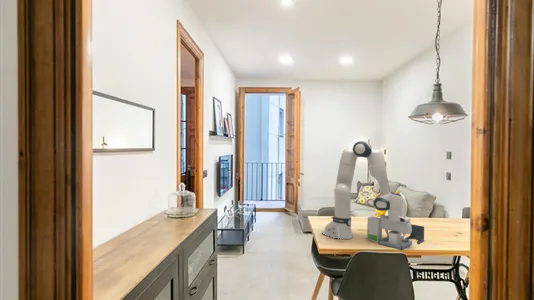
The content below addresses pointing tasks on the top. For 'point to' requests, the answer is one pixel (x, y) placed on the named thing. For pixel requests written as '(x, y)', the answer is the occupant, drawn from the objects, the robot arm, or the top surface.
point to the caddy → (395, 237)
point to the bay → (417, 233)
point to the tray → (401, 246)
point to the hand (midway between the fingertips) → (395, 237)
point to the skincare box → (374, 229)
